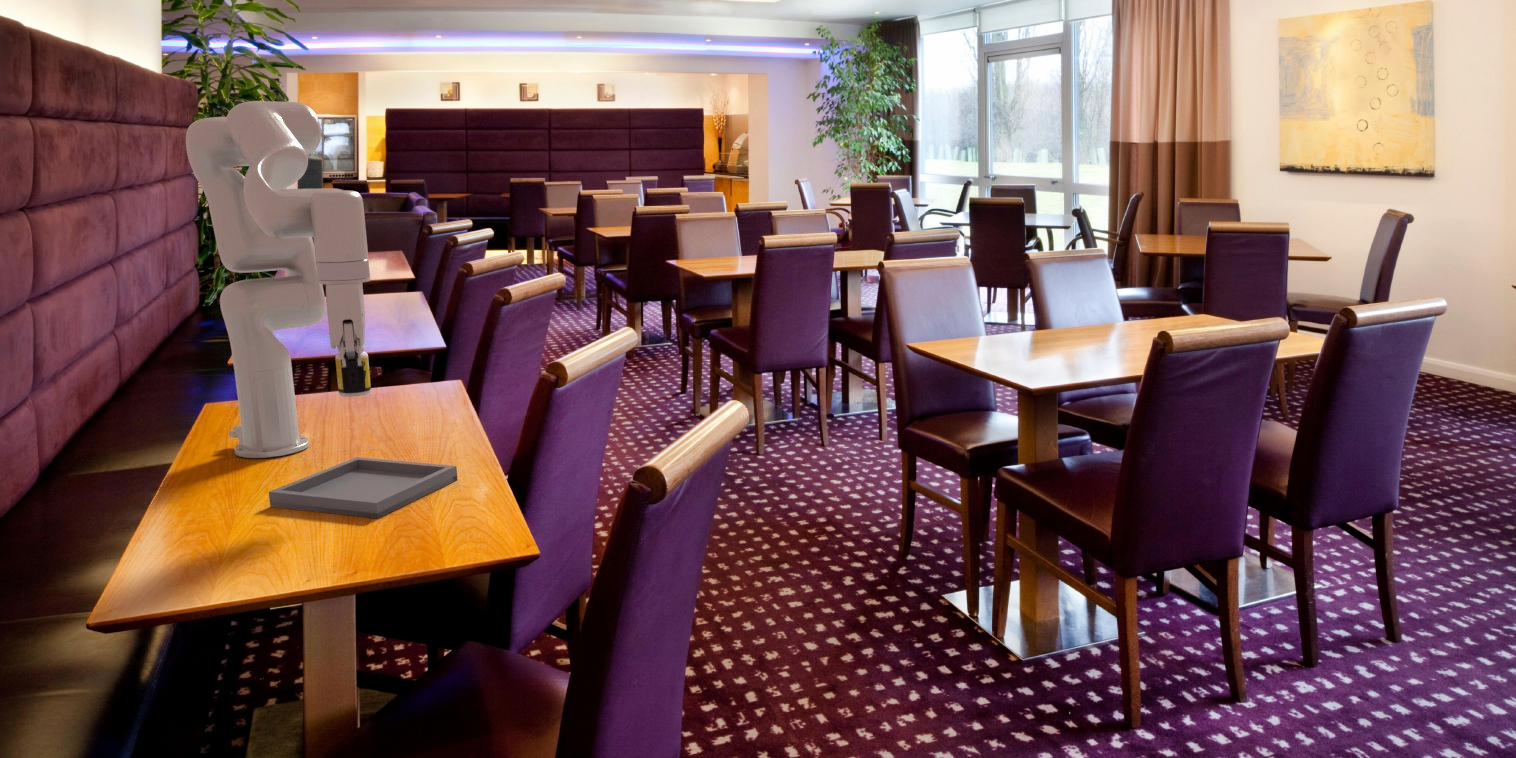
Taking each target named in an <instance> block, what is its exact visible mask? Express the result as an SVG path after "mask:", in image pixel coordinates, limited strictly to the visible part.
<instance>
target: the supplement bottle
mask: <svg viewBox="0 0 1516 758" xmlns="http://www.w3.org/2000/svg"><path fill="white" fill-rule="evenodd" d="M365 345H366V344H365V343H364V345H363V346H362V347H360V353H361V364H362V366H364V377H365V387H366V390H365V391H364V392H357V393H344V391H343V382H342V371H341V367H343V365H342V355H341V344H339V346H336V349H337V352H338V353H337V354H336V355H335V367H336V379H337V391H338V395H340V396H342V397H347V398H348V397H349V398H353V397H360V396H361V397H362V396H366V395H369V394H370V393H371V392H372V387H371V375H370V374H371V373H370V365H369V355H368V352H366V351H364V350H366V346H365ZM354 346H357V342H356V343H354ZM343 347H346V345H345V343H343ZM345 352H346V351H345ZM356 352H357V351H356ZM357 362H358V359H357ZM346 367H347V366H346Z"/></svg>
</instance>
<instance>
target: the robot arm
mask: <svg viewBox="0 0 1516 758" xmlns="http://www.w3.org/2000/svg"><path fill="white" fill-rule="evenodd" d="M321 139H322V126H321V123H320V121H319V118H318V116H317V114H316V113H315V111H314V110H313V109H312V108H311V107H310V106H308V105H307V104H305V103H302V102H298V101H297V102H296V101H270V100H269V101H267V100H265V101H263V100H252V101H251V100H250V101H243V102H242V103H241V102H240V103H238V104H236V105H235V106H233V107H232V108H231V109H230V110H229V111H228V113H227V115H226V116H214V117H213V116H212V117H205V118H201V119H197V120H195V121H194V122H192V123H191V124H190V125H189V126H188V128H187V130H186V133H185V147H186V155H187V158H188V163H189V164H190V168H191V169H192V172H193V173H194V176H195V178H196V179H197V181H198V183H199V185H200V187H201V189H202V191H203V192H204V196H205V198H206V201H207V204H208V208H209V213H210V217H211V223H212V224H211V225H212V228H213V232H214V237H215V242H216V247H217V251H218V254H219V258H220V261H221V263H222V265H223V266H224V268H225V269H226V270H228V271H230V272H232V273H244V274H245V273H259V272H262V273H263V272H270V271H272V272H273V271H285V272H286V274H287V276H279V277H278V276H276V277H264V278H263V277H262V278H250V279H243V280H239V281H235V282H232V283H231V284H229V285H227V286H225V287H224V289H223V290H222V292H221V293H220V297H219V305H220V311H221V315H222V318H223V321H224V324H225V328H226V331H227V335H228V339H229V343H230V344H229V345H230V349H231V358H232V362H233V363H232V364H233V369H234V371H233V372H234V377H235V378H234V379H235V387H236V394H237V402H238V410H239V419H240V424H236V425H234V426H233V427H232V428H233V429H230V430H229V431H228V436H229V437H230V438H235V439H236V438H238V443H239V444H236V446H235V447H234V454H235V455H236V457H240V458H246V459H265V458H266V459H267V458H268V459H269V458H274V457H282V456H287V455H291V454H294V453H295V454H296V453H298V452H302V451H304V450H305V449H307V448H308V447H309V446H310V439H309V438H308V437H306V436H303V435H300V434H299V433H300V429H299V422H298V411H297V405H296V395H295V385H294V377H293V375H294V374H293V366H292V359H291V354H290V351H289V350H288V348H287V347H286V346H285V344H284V343H282V342H281V340H280V339H278V338H277V337H276V336H275V335H274V332H275V331H280V330H281V331H282V330H287V329H288V330H290V329H294V328H304V327H310V326H314V325H315V326H316V325H317V324H319V323H321V321H322V320H323V319H324V318H325V314H326V313H327V323H328V334H329V342H330V344H329V345H330V348H331V349H332V350H335V349H336V348H337V346H339V344H341V355H342V365H343V367H341V371H342V382H343V391H344V393H357V392H364V391H365V390H366V387H365V377H364V366H362V364H361V353H360V347H362V346H363V345H364V344H365V339H366V335H365V334H366V316H365V315H366V314H365V313H366V311H365V299H364V289H363V287H364V286H363V283H366V282H367V283H368V282H370V281H371V272H370V261H369V252H368V251H369V250H368V249H369V248H368V242H367V241H368V240H367V239H368V238H367V229H366V228H367V227H366V220H365V219H366V218H365V209H364V208H365V207H364V205H365V204H364V200H363V197H362V195H361V194H360V193H359V192H358V191H355V190H347V189H346V190H344V189H341V188H334V187H333V188H332V187H331V188H329V187H328V188H327V187H326V188H323V187H322V188H311V187H310V188H288V187H290V186H293V185H294V184H295V183H297V182H298V181H299V180H300V179H301V178H302V177H303V176H304V175H305V173H306V171H307V169H308V166H309V159H308V156H309V155H310V154H312V153H313V152H314V151H315V150H317V148H318V147H319V145H320V143H321ZM234 167H248V169H247V171H246V173H245V175H243V174H242V173H241V172H240V171H238V170H237V169H236V168H234ZM286 188H287V189H286ZM324 285H325V289H324ZM324 290H325V291H324ZM356 342H357V346H354V343H356ZM343 343H345V345H346V347H343ZM345 351H346V352H345ZM356 351H357V352H356ZM357 359H358V362H357ZM346 366H347V367H346Z"/></svg>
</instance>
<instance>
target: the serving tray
mask: <svg viewBox="0 0 1516 758" xmlns="http://www.w3.org/2000/svg"><path fill="white" fill-rule="evenodd" d="M457 470H458V469H457V465H449V464H439V463H428V462H427V463H426V462H417V461H405V460H404V461H403V460H392V459H380V458H369V457H358V456H356V457H354V458H351V459H348V460H347V461H343V462H342V463H338V464H336V465H334V466H330V467H328V468H326V469H323V470H320V471H318V472H315V473H313V474H310V475H308V476H305V477H302V478H301V479H300V478H299V479H298V480H294V481H293V482H290V483H288V484H284V485H282V486H279V487H277V488H274V489H272V490H270V491H268V498H269V499H268V500H269V506H270V507H271V508H278V509H289V510H298V511H304V512H305V511H306V512H315V513H325V514H334V515H341V516H343V515H345V516H352V517H362V518H371V519H380V518H382V517H384V516H386V515H388V514H391V513H392V512H394V511H396V510H398V509H400V508H403V507H404V506H406V505H408V504H411V503H413V502H415V501H417V500H420V499H421V498H423V497H426V496H427V495H429V494H431V493H433V492H436V491H438V490H439V489H441V488H444V487H446V486H448V485H450V484H452V483H455V482H456V481H458V471H457Z"/></svg>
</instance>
